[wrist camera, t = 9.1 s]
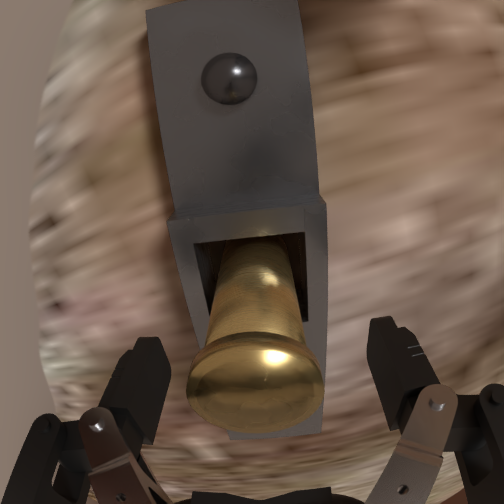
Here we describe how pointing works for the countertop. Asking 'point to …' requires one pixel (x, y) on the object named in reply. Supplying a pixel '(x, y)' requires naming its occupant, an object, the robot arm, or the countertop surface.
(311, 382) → the link pin
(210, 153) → the link plates
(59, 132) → the countertop surface
